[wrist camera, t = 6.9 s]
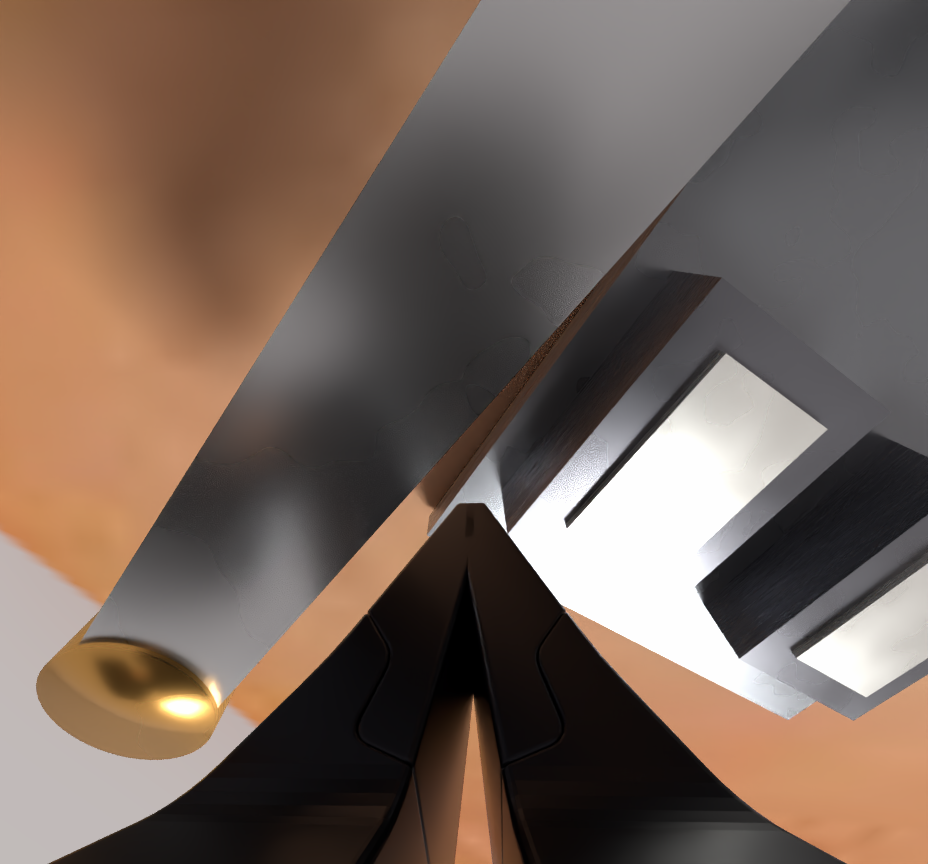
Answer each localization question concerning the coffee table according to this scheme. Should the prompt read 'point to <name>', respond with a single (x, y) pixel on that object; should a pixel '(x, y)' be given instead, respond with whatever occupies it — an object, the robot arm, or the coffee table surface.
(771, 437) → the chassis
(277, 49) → the coffee table surface
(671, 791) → the robot arm
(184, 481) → the cable arm
